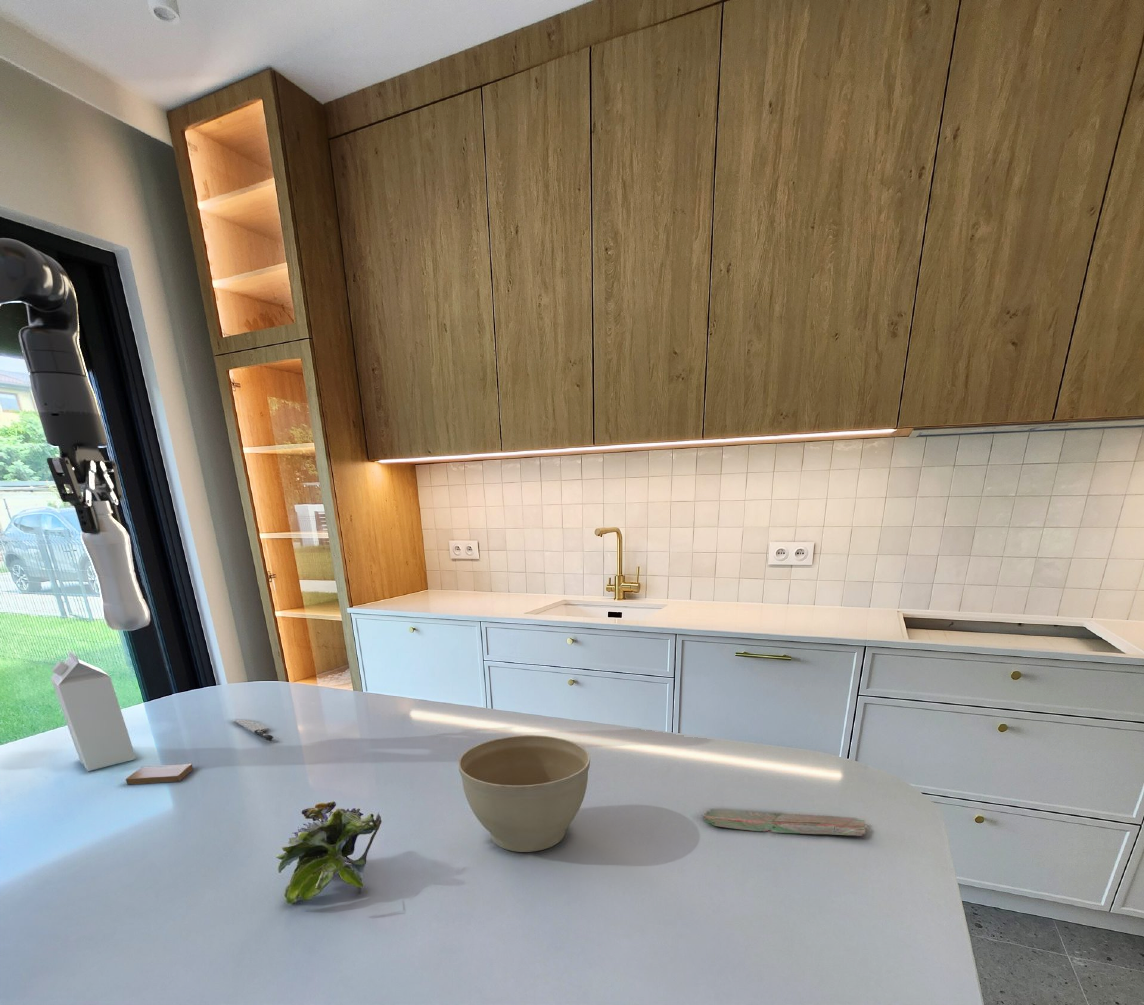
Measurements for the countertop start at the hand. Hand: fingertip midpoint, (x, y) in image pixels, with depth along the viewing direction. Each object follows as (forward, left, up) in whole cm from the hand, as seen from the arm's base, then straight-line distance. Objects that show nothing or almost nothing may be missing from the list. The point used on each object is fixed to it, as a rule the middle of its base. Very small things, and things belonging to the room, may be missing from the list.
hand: (103, 531), depth 103 cm
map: (+97, -43, -37) cm, 113 cm away
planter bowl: (+64, -41, -37) cm, 85 cm away
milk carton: (-8, -4, -37) cm, 38 cm away
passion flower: (+42, -49, -37) cm, 75 cm away
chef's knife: (+13, +8, -37) cm, 40 cm away
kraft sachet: (+5, -13, -37) cm, 40 cm away
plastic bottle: (0, 0, -16) cm, 16 cm away
